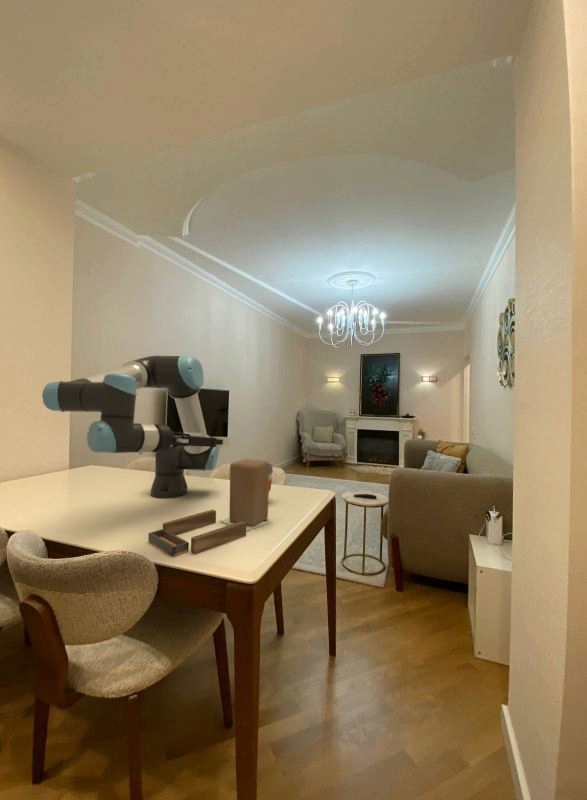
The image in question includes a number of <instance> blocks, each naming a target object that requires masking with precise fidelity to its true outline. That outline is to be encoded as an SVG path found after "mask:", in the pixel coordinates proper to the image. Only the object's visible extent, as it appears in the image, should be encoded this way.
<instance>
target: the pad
mask: <svg viewBox="0 0 587 800" xmlns="http://www.w3.org/2000/svg"><path fill="white" fill-rule="evenodd" d="M219 522H220V523H221V524H225V525H226V526H228V525H231V524H234V523H236V522H231V521H230V519H229V517H228V518H227V517H226V518H224V519H221V520H219ZM268 524H269V523H268V521H264V520H263V521H261V522H259V523H258V524H256V525H254V526H250V525H246V533H247V532H249V531H252V530H255V529H258V528H260V527H264V526H266V525H268Z"/></svg>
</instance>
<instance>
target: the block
mask: <svg viewBox="0 0 587 800" xmlns="http://www.w3.org/2000/svg"><path fill="white" fill-rule="evenodd" d="M269 464H270V463H269V461H266V460H258V459H251V458H245V459H242V460H241V459H240V460H238V461H234V462H231V463H230V467H229V468H230V469H229V514H228V515H229V517H228V518H229V519H230V521H231V522H236V523H237V522H240V521H244V522H246V525H250V526H254V525H256V524H258V523H259V522H261V521H264V520H266V519H267V518H268V517H269V497H268V478H269Z"/></svg>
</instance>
